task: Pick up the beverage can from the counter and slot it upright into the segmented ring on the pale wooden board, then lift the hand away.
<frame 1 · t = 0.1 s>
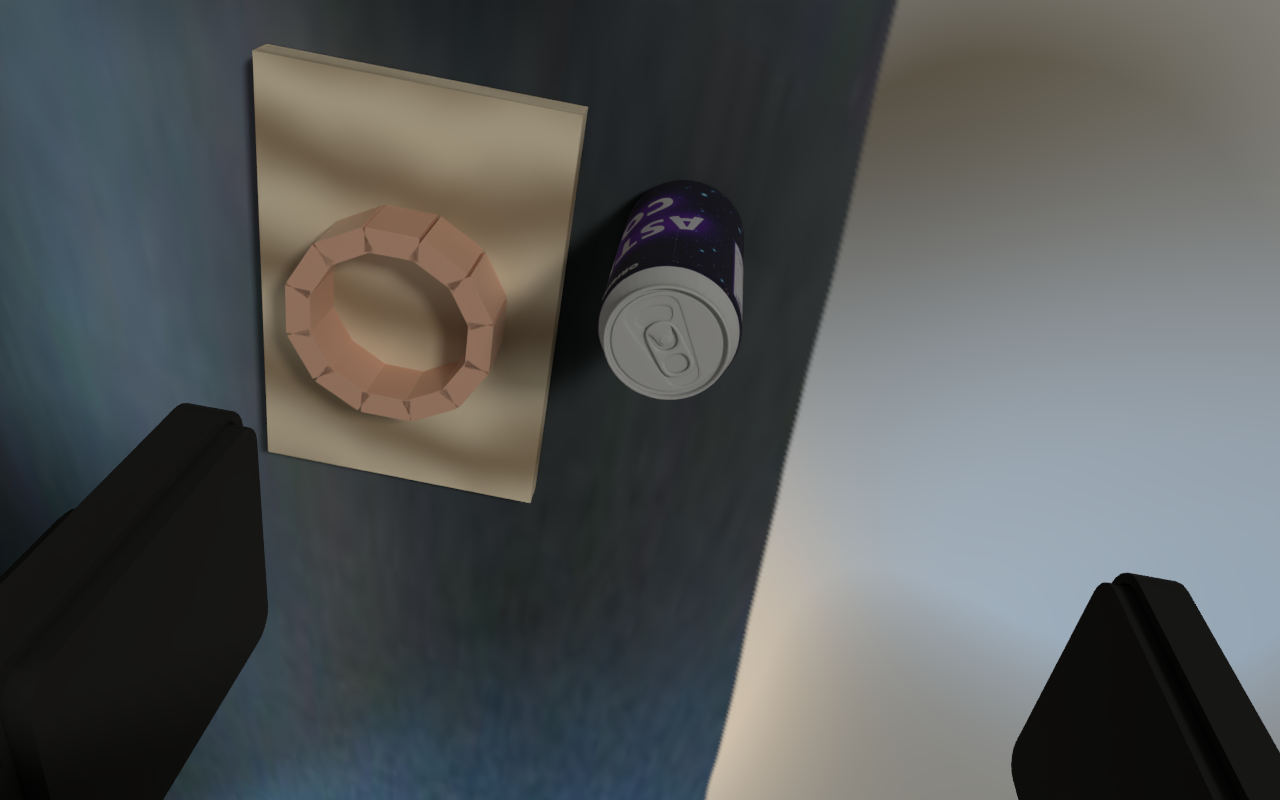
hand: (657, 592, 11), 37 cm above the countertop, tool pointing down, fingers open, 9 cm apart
base board: (416, 290, 50), on the countertop
beverage can: (685, 229, 48), on the countertop
segmented ring: (398, 315, 48), on the base board, point 2 cm above the countertop
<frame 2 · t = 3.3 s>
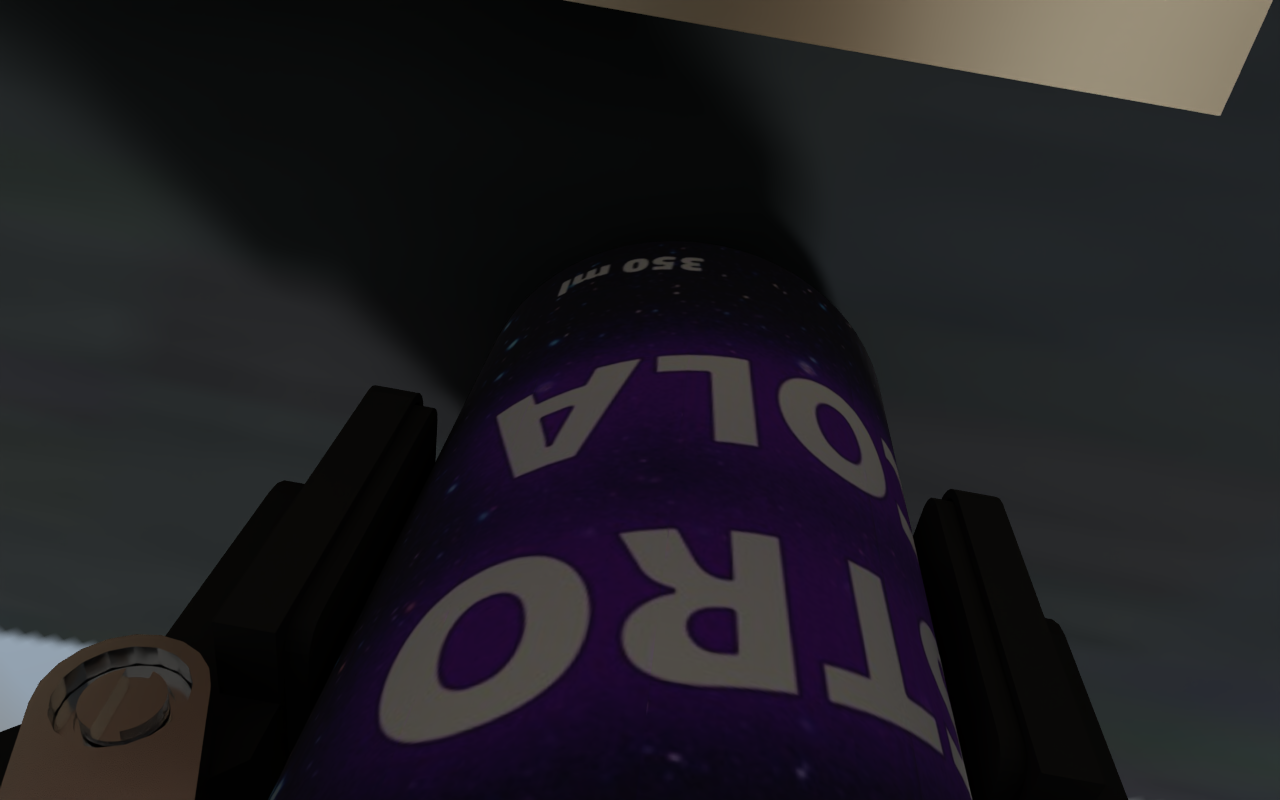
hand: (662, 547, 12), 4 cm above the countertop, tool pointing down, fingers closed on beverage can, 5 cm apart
beverage can: (682, 390, 15), on the countertop, touching gripper
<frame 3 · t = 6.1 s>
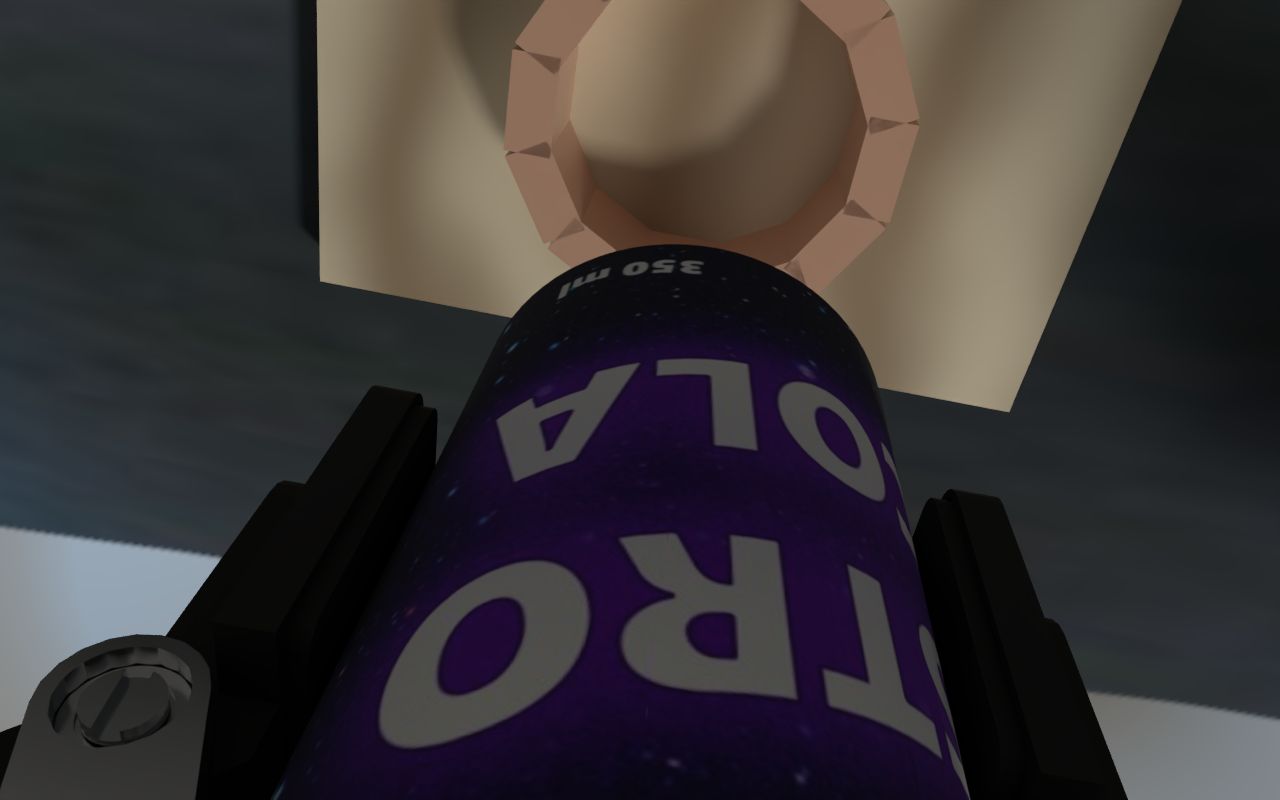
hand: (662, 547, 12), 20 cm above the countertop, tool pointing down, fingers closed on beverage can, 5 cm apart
base board: (712, 95, 28), on the countertop
beverage can: (682, 392, 15), point 16 cm above the countertop, touching gripper
segmented ring: (708, 122, 26), on the base board, point 2 cm above the countertop
when the fingers open (6 cm above the countertop, at t = 9.1 s): beverage can drops 1 cm, resting on base board.
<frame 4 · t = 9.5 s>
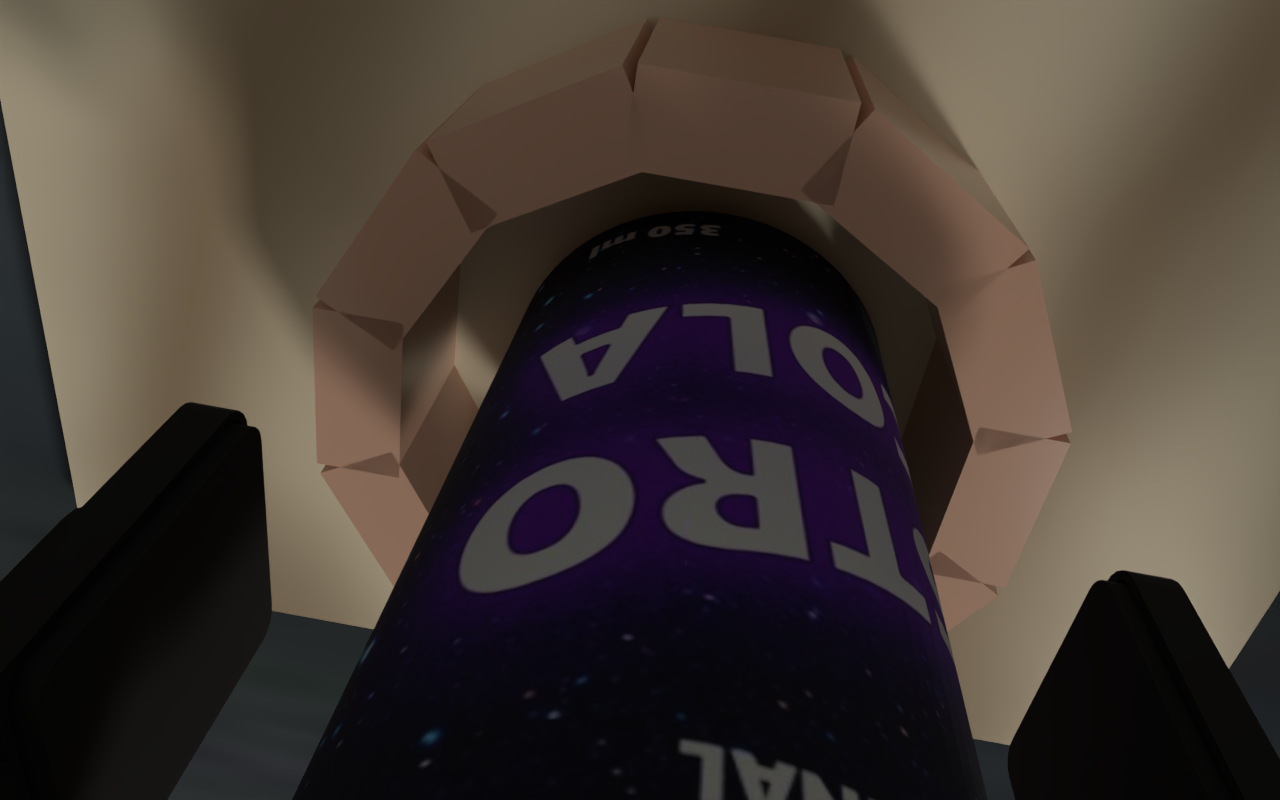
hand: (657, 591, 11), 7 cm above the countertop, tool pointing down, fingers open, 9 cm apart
base board: (691, 312, 17), on the countertop
beverage can: (698, 353, 16), point 1 cm above the countertop, touching base board
segmented ring: (681, 398, 15), on the base board, point 2 cm above the countertop
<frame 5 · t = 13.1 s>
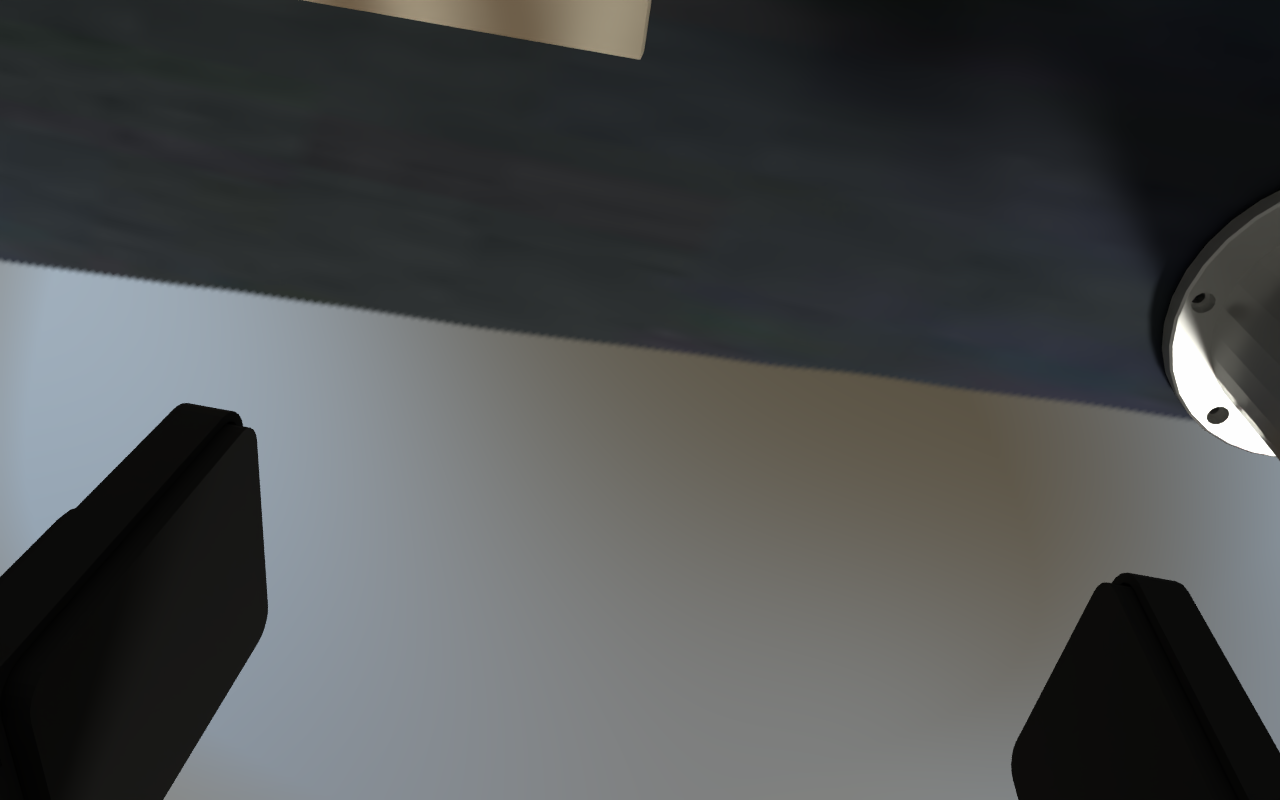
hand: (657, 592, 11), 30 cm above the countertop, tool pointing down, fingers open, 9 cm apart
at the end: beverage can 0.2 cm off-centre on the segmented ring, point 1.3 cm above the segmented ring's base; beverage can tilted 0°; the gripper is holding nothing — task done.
